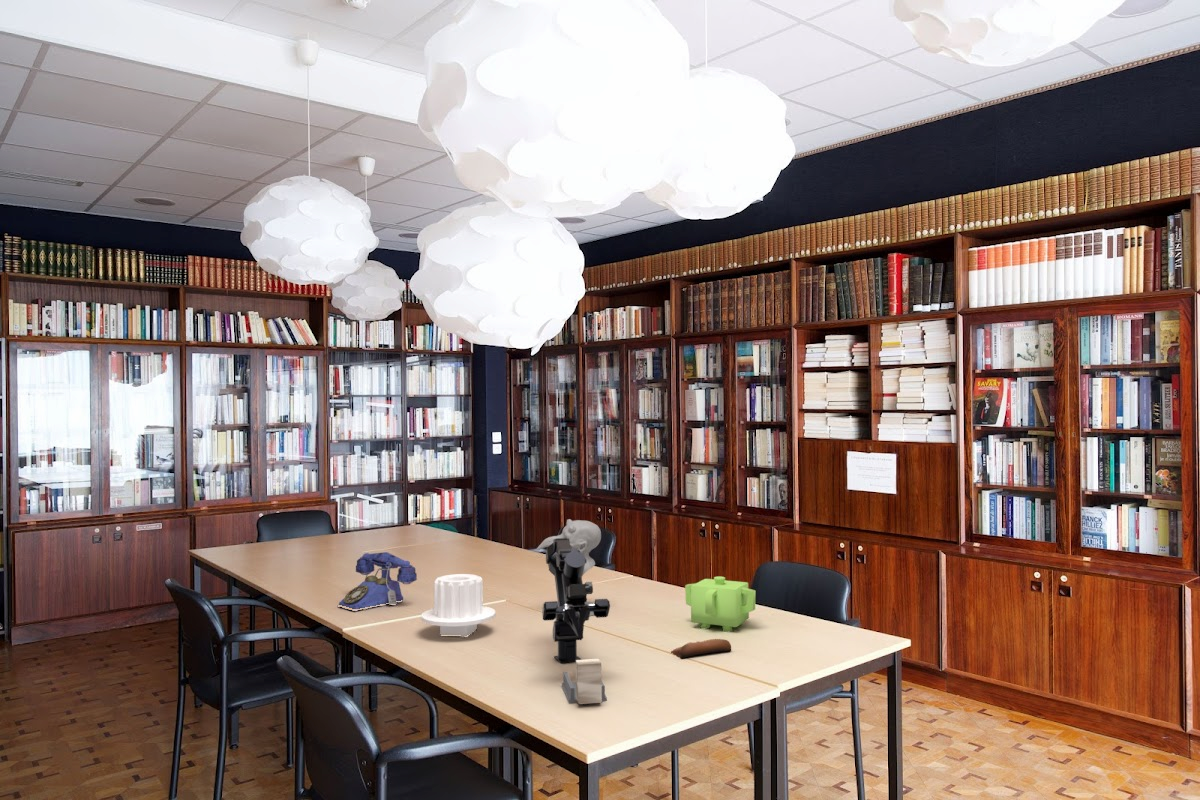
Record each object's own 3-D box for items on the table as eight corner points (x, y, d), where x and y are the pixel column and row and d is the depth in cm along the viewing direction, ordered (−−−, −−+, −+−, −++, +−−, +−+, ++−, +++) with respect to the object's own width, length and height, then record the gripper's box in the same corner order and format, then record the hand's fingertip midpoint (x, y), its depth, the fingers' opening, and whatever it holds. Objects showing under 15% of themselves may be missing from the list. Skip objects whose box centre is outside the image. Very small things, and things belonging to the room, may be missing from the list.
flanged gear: (481, 644, 271) (480, 586, 271) (409, 641, 276) (408, 584, 276) (504, 625, 296) (504, 572, 296) (438, 622, 301) (438, 570, 301)
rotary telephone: (315, 601, 337) (314, 552, 337) (367, 591, 355) (367, 544, 355) (372, 617, 309) (371, 563, 310) (425, 606, 327) (425, 555, 327)
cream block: (576, 698, 216) (575, 660, 216) (599, 697, 217) (598, 658, 217) (578, 704, 212) (578, 664, 212) (601, 702, 213) (601, 663, 214)
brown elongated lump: (717, 644, 268) (722, 629, 265) (727, 661, 262) (733, 645, 259) (668, 652, 260) (673, 636, 257) (677, 669, 255) (683, 653, 252)
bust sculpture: (541, 607, 322) (540, 516, 323) (603, 607, 321) (602, 516, 322) (535, 617, 306) (534, 522, 307) (600, 617, 305) (599, 522, 305)
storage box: (674, 629, 287) (674, 579, 288) (698, 615, 307) (697, 568, 308) (744, 638, 276) (744, 586, 276) (764, 622, 296) (763, 574, 296)
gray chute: (561, 685, 229) (561, 672, 229) (597, 683, 231) (597, 669, 231) (568, 703, 216) (568, 688, 216) (606, 700, 217) (606, 685, 217)
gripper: (543, 573, 233) (548, 622, 222) (608, 570, 237) (616, 618, 226) (540, 595, 241) (545, 644, 230) (603, 592, 244) (611, 640, 233)
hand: (579, 636), depth 230 cm, fingers closed
